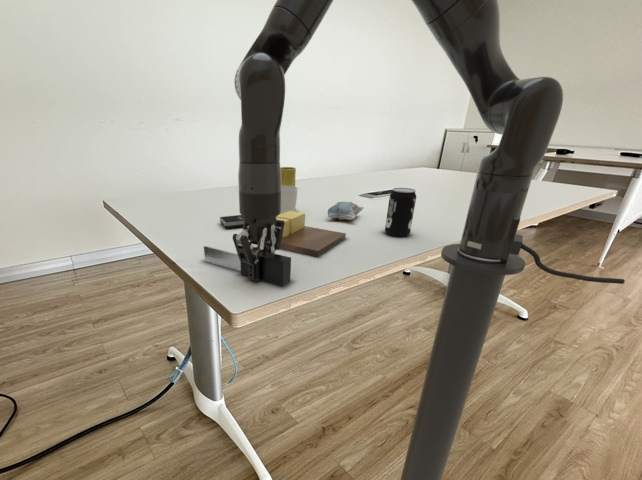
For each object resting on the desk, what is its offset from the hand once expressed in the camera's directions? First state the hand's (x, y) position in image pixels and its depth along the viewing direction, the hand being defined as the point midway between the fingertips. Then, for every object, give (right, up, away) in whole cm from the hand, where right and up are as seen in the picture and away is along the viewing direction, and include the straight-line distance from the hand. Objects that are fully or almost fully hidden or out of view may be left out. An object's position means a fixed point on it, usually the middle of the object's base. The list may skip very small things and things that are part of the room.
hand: (260, 275), depth 68 cm
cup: (+6, +17, +38) cm, 42 cm away
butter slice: (+4, +11, +20) cm, 23 cm away
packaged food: (+25, +18, +41) cm, 51 cm away
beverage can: (+36, +11, +26) cm, 46 cm away
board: (+10, +9, +21) cm, 24 cm away
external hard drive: (-7, +15, +34) cm, 38 cm away
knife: (-3, +1, +2) cm, 4 cm away
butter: (+7, +13, +25) cm, 29 cm away
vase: (+7, +22, +48) cm, 53 cm away
